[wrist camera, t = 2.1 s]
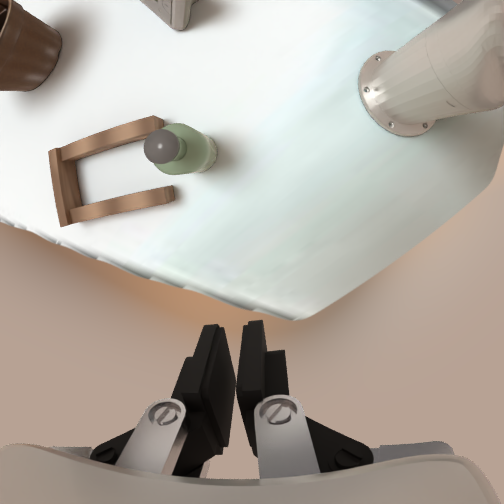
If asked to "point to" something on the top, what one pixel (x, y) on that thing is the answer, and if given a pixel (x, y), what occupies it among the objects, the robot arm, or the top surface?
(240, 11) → the top surface
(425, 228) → the top surface
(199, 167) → the bottle
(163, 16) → the digital clock
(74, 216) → the rest
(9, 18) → the plant pot
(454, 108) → the robot arm
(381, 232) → the top surface
